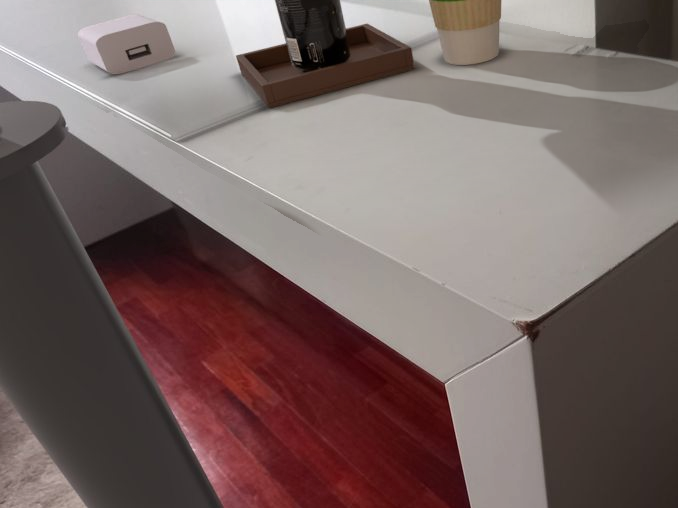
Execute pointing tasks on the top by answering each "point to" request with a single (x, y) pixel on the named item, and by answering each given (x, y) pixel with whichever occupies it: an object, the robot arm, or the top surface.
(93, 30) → the charger
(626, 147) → the top surface
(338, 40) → the beverage can
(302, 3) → the robot arm
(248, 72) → the holder
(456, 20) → the coffee cup
